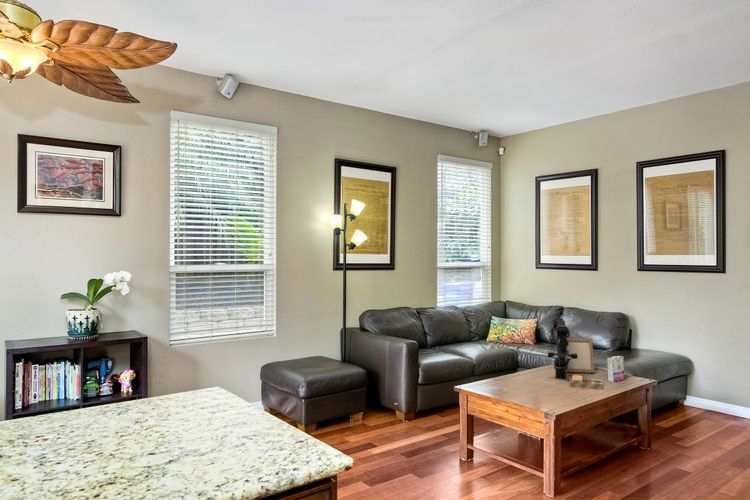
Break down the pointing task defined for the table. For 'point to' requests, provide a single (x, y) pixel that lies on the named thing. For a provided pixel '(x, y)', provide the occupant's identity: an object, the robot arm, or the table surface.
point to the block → (577, 377)
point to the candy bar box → (615, 368)
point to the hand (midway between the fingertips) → (562, 368)
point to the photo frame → (580, 355)
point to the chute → (586, 383)
